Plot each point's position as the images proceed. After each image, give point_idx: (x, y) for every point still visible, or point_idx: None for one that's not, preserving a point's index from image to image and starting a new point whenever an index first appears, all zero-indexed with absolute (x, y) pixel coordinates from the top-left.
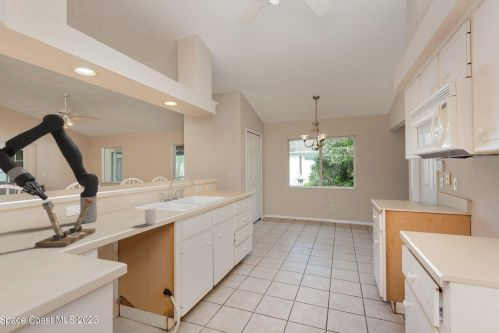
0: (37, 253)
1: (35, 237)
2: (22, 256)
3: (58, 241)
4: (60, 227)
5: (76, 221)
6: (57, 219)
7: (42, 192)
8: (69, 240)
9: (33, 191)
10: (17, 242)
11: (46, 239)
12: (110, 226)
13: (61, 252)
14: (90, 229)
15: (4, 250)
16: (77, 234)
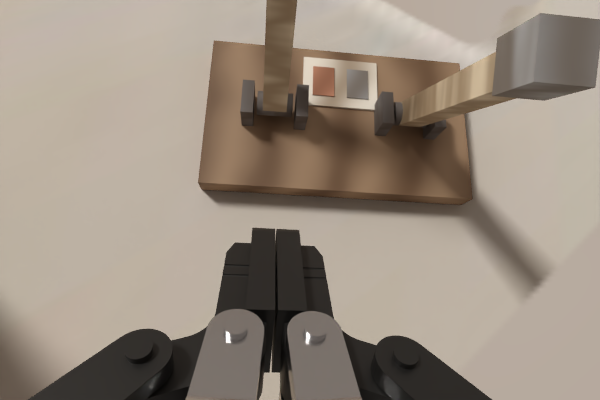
0: (532, 140)
1: None
2: (565, 176)
3: None
4: (418, 94)
5: (290, 63)
6: (443, 80)
7: (258, 321)
8: (434, 65)
9: (473, 394)
10: None
11: (413, 183)
12: (93, 20)
13: None
14: (231, 57)
15: (502, 324)
16: (341, 73)
